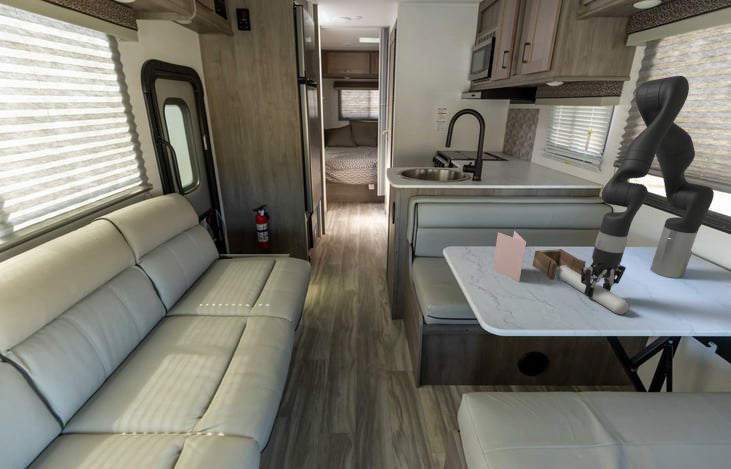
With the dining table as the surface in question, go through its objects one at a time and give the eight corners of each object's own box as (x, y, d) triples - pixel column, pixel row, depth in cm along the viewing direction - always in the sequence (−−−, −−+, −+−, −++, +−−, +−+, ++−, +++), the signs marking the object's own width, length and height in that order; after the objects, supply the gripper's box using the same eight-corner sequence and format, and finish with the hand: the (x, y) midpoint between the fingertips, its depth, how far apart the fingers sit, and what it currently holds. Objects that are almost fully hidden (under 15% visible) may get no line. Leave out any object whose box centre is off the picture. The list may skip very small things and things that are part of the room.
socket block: (560, 263, 139) (563, 248, 137) (583, 277, 128) (586, 262, 126) (530, 265, 137) (532, 251, 135) (550, 280, 126) (553, 264, 124)
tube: (636, 303, 105) (571, 266, 127) (624, 300, 103) (560, 263, 125) (627, 319, 106) (564, 279, 129) (614, 316, 104) (553, 277, 127)
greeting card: (521, 282, 124) (529, 242, 119) (500, 281, 125) (506, 241, 119) (510, 267, 135) (516, 230, 130) (490, 267, 135) (496, 230, 130)
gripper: (619, 241, 113) (606, 288, 119) (579, 243, 111) (568, 291, 117) (640, 250, 106) (625, 299, 112) (598, 253, 104) (585, 303, 110)
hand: (596, 295), depth 114 cm, fingers open, 5 cm apart
